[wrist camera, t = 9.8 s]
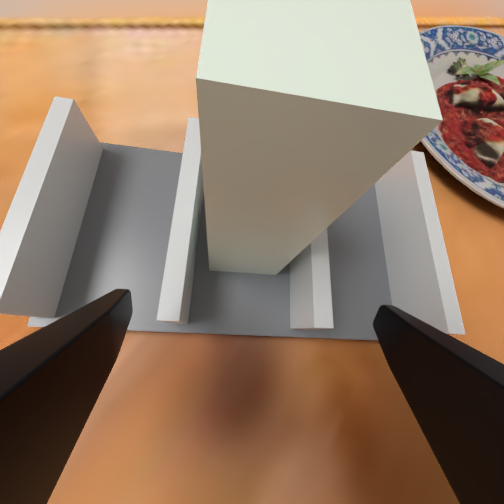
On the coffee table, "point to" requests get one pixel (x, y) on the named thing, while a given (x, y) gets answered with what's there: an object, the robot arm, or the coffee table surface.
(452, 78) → the ceramic plate
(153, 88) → the coffee table surface
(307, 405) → the coffee table surface
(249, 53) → the cream white box
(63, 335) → the robot arm
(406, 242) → the dish rack
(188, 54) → the coffee table surface
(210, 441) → the coffee table surface
